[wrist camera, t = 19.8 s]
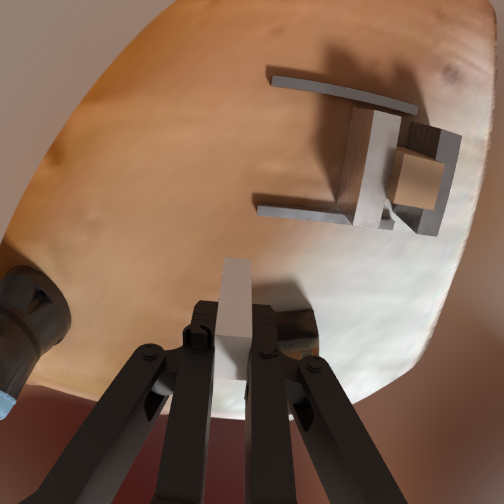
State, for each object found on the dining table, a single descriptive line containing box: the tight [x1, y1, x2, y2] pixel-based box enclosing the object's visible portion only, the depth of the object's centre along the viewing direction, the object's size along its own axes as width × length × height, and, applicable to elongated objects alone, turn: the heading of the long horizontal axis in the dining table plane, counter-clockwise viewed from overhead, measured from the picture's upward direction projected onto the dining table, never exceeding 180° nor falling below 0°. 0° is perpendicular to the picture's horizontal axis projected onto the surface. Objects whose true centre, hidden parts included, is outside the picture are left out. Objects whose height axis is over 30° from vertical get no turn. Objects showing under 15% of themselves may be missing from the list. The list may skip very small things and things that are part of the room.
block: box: [386, 146, 445, 210], centre depth 32 cm, size 5×5×9 cm
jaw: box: [336, 107, 401, 229], centre depth 32 cm, size 3×12×7 cm, turn 174°
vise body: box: [257, 75, 462, 237], centre depth 32 cm, size 20×16×7 cm
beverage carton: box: [275, 309, 319, 415], centre depth 47 cm, size 8×19×7 cm, turn 7°
